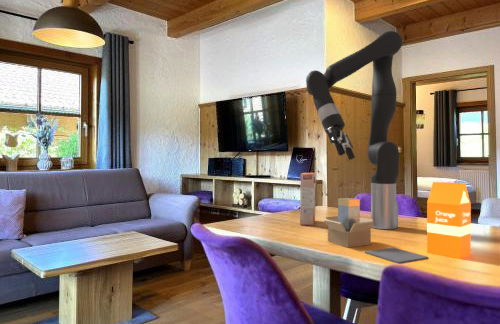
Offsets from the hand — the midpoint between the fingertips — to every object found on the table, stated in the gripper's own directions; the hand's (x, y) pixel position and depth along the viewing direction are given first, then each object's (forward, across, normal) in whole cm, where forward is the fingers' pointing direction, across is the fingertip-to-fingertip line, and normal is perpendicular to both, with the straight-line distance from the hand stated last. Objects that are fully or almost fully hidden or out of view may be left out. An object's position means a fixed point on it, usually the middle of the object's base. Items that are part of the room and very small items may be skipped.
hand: (347, 156), depth 132 cm
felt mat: (+37, -15, -6) cm, 41 cm away
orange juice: (+41, -4, -16) cm, 44 cm away
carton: (+28, -8, +8) cm, 31 cm away
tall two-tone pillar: (+29, -8, +8) cm, 31 cm away
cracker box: (+12, +17, +32) cm, 38 cm away
